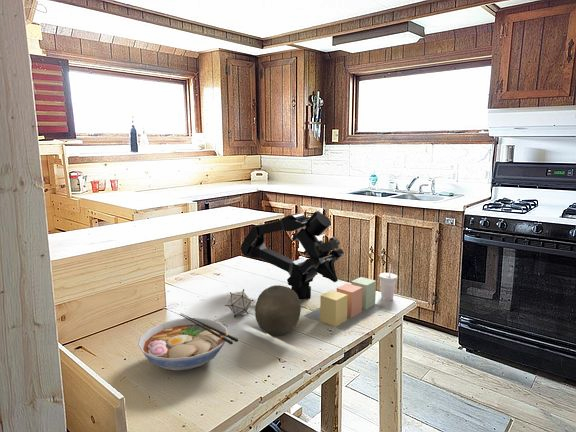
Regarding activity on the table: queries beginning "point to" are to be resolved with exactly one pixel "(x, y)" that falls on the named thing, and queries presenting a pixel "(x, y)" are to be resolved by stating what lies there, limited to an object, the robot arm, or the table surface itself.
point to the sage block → (366, 291)
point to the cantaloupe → (277, 310)
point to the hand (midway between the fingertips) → (336, 281)
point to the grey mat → (350, 321)
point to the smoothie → (387, 284)
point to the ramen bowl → (184, 342)
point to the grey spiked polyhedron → (239, 303)
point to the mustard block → (333, 308)
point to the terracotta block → (352, 298)
